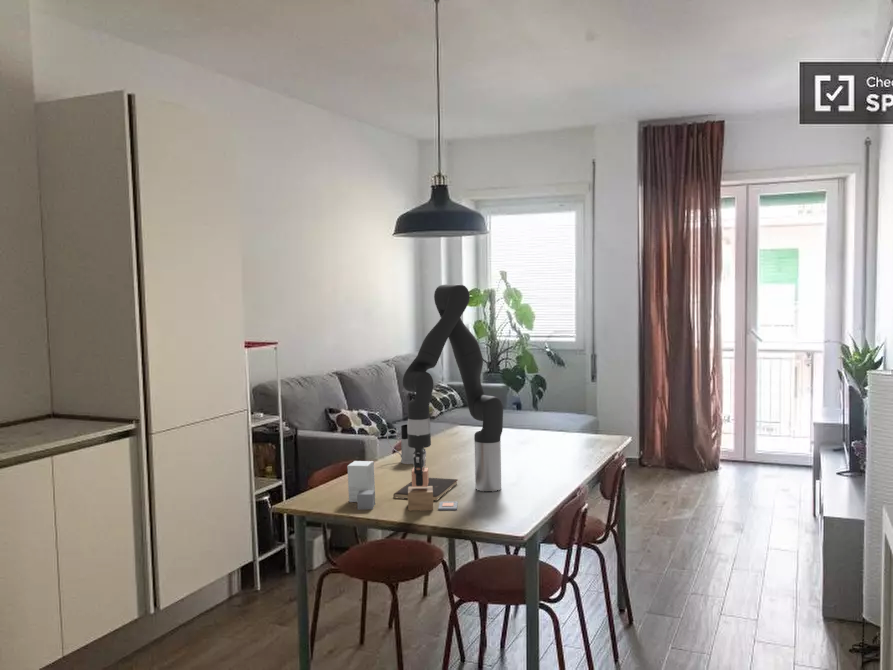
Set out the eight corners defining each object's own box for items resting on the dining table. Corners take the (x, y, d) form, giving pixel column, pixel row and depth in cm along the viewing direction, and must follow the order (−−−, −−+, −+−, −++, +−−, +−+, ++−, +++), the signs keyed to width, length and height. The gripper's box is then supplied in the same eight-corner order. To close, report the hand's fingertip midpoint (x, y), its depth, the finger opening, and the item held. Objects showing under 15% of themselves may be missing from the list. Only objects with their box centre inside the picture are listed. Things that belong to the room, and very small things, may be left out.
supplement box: (375, 497, 262) (374, 460, 261) (368, 503, 255) (367, 465, 254) (355, 496, 264) (354, 460, 263) (348, 502, 256) (346, 465, 256)
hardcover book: (458, 485, 277) (457, 479, 277) (437, 502, 255) (437, 495, 255) (416, 483, 282) (416, 476, 282) (393, 499, 260) (393, 492, 260)
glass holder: (420, 463, 311) (419, 427, 310) (386, 464, 311) (385, 428, 310) (422, 459, 319) (421, 423, 318) (388, 459, 320) (387, 424, 319)
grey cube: (360, 505, 253) (359, 490, 252) (375, 505, 252) (374, 490, 252) (357, 509, 248) (357, 494, 247) (372, 509, 247) (372, 494, 247)
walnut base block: (408, 504, 253) (408, 486, 252) (432, 503, 253) (432, 485, 253) (408, 511, 245) (407, 492, 244) (433, 510, 245) (432, 492, 245)
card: (439, 503, 252) (439, 500, 252) (457, 503, 252) (457, 500, 252) (438, 510, 245) (438, 507, 244) (456, 510, 244) (456, 507, 244)
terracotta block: (413, 482, 251) (413, 467, 251) (428, 482, 251) (428, 467, 251) (411, 486, 246) (411, 471, 246) (427, 486, 246) (426, 471, 246)
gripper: (409, 428, 255) (411, 478, 256) (405, 436, 241) (406, 489, 242) (432, 427, 254) (433, 477, 255) (428, 436, 240) (429, 489, 241)
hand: (420, 483), depth 248 cm, fingers closed on terracotta block, 4 cm apart
